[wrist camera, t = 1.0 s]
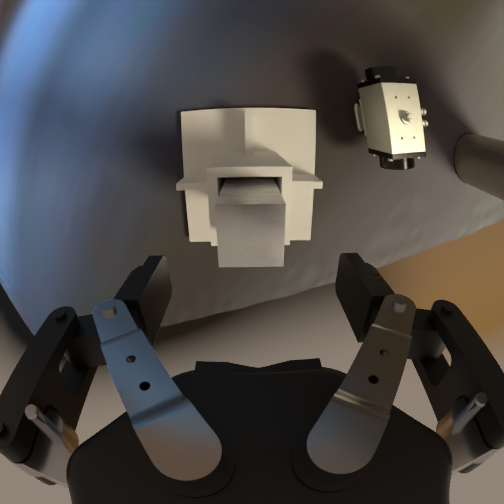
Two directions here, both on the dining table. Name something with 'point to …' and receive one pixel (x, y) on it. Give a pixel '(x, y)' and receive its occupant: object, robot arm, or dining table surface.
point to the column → (250, 223)
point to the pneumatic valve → (391, 117)
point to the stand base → (248, 162)
